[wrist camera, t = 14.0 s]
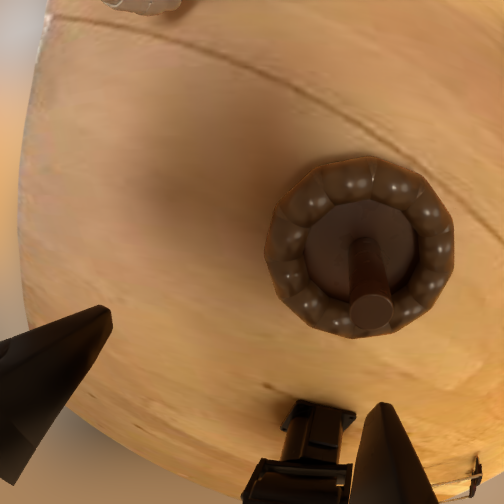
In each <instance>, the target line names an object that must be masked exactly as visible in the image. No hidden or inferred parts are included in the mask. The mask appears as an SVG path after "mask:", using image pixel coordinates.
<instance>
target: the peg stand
mask: <svg viewBox="0 0 504 504" xmlns="http://www.w3.org/2000/svg"><path fill="white" fill-rule="evenodd" d="M303 256H304V260H305V264H306V267H307V271H308V275H309V278H310V279H311V280H312V281H313V282H314V283H315V284H316V285H317V286H318V287H319V288H320V289H321V290H322V291H323V292H324V293H325V294H326V295H327V296H328V297H331V298H334V299H337V300H340V301H344V302H347V303H349V315H350V319H351V321H352V322H353V323H354V325H356V326H357V327H359V328H361V329H364V330H375V329H379V328H381V327H383V326H385V325H386V324H387V323H388V322H389V321H390V319H391V318H392V315H393V311H394V309H393V303H392V298H391V295H393V294H394V293H396V292H397V291H399V290H400V289H401V288H403V287H404V286H406V285H407V284H408V282H409V280H410V278H411V276H412V274H413V272H414V270H415V268H416V266H417V264H418V262H419V260H420V256H419V242H418V233H417V232H416V230H415V229H414V228H413V226H412V225H411V224H410V222H409V221H408V220H407V218H406V217H405V216H404V215H403V213H402V212H401V211H400V210H398V209H395V208H392V207H389V206H387V205H384V204H381V203H379V202H376V201H373V200H370V199H369V200H363V201H358V202H353V203H348V204H342V205H337V206H335V207H334V208H332V209H331V210H330V211H329V212H328V213H327V214H326V215H324V216H323V217H322V218H321V219H320V220H319V221H317V222H316V223H315V224H314V225H313V226H312V227H311V229H310V232H309V235H308V239H307V242H306V245H305V248H304V251H303Z"/></svg>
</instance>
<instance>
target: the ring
mask: <svg viewBox="0 0 504 504" xmlns="http://www.w3.org/2000/svg"><path fill="white" fill-rule="evenodd" d="M369 199H370V200H373V201H376V202H379V203H381V204H384V205H387V206H389V207H392V208H395V209H398V210H400V211H401V212H402V213H403V215H404V216H405V217H406V218H407V220H408V221H409V222H410V224H411V225H412V226H413V228H414V229H415V230H416V232H417V233H418V242H419V256H420V260H419V262H418V264H417V266H416V268H415V270H414V272H413V274H412V276H411V278H410V280H409V282H408V284H407V285H406V286H404V287H403V288H401V289H400V290H399V291H397V292H396V293H394V294H393V295H391V298H392V303H393V309H394V311H393V315H392V318H391V319H390V321H389V322H388V323H387V324H386V325H385V326H383V327H381V328H379V329H375V330H364V329H361V328H359V327H357V326H356V325H354V323H353V322H352V321H351V319H350V315H349V303H347V302H344V301H340V300H337V299H334V298H331V297H328V296H327V295H326V294H325V293H324V292H323V291H322V290H321V289H320V288H319V287H318V286H317V285H316V284H315V283H314V282H313V281H312V280H311V279H310V278H309V275H308V271H307V267H306V264H305V260H304V256H303V251H304V248H305V245H306V242H307V239H308V235H309V232H310V229H311V227H312V226H313V225H314V224H315V223H316V222H317V221H319V220H320V219H321V218H322V217H323V216H324V215H326V214H327V213H328V212H329V211H330V210H331V209H332V208H334V207H335V206H337V205H342V204H348V203H353V202H358V201H363V200H369ZM264 257H265V260H266V263H267V266H268V269H269V273H270V276H271V279H272V282H273V285H274V288H275V291H276V294H277V296H278V298H279V299H280V300H281V301H282V302H283V303H284V304H285V305H286V306H287V307H289V308H290V309H291V310H292V311H293V312H294V313H295V314H296V315H297V316H298V317H299V318H301V319H302V320H303V321H304V322H305V323H306V324H307V325H308V326H310V327H312V328H315V329H318V330H321V331H324V332H328V333H331V334H335V335H338V336H342V337H345V338H349V339H358V338H365V337H372V336H379V335H386V334H392V333H395V332H397V331H399V330H400V329H402V328H403V327H405V326H407V325H408V324H410V323H411V322H413V321H414V320H416V319H417V318H419V317H420V316H422V315H423V314H425V313H426V312H428V311H429V310H430V309H431V308H432V307H433V305H434V304H435V302H436V300H437V299H438V297H439V295H440V294H441V292H442V290H443V288H444V287H445V285H446V283H447V281H448V279H449V278H450V276H451V274H452V272H453V269H454V225H453V220H452V217H451V215H450V214H449V212H448V211H447V209H446V208H445V206H444V205H443V203H442V202H441V200H440V199H439V197H438V196H437V194H436V193H435V191H434V190H433V189H432V187H431V186H430V184H429V183H428V182H427V180H426V179H425V178H424V177H423V176H421V175H420V174H418V173H415V172H413V171H410V170H408V169H405V168H403V167H400V166H398V165H395V164H393V163H390V162H387V161H385V160H382V159H379V158H377V157H372V156H366V157H360V158H355V159H350V160H345V161H341V162H336V163H331V164H326V165H322V166H318V167H316V168H314V169H313V170H312V171H310V172H309V173H308V174H307V175H306V176H305V177H304V178H303V179H302V180H301V181H300V182H299V183H298V184H297V185H296V186H295V187H293V188H292V189H291V190H290V191H289V192H288V193H287V194H286V195H285V196H284V197H283V198H282V199H281V200H280V201H279V202H278V203H277V205H276V207H275V209H274V213H273V217H272V221H271V225H270V229H269V233H268V236H267V240H266V244H265V249H264Z"/></svg>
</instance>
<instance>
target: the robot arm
mask: <svg viewBox="0 0 504 504" xmlns="http://www.w3.org/2000/svg"><path fill="white" fill-rule="evenodd" d="M112 329H113V323H112V316H111V311H110V309H108V308H107V307H105V306H103V305H97V306H94V307H91V308H89V309H86V310H83V311H81V312H78V313H75V314H73V315H70V316H67V317H65V318H62V319H59V320H57V321H54V322H51V323H49V324H46V325H43V326H41V327H38V328H35V329H33V330H30V331H27V332H25V333H22V334H19V335H17V336H14V337H12V338H9V339H6V340H4V341H1V342H0V478H2V479H3V480H5V481H6V482H8V483H9V484H11V485H13V486H14V484H15V483H16V481H17V480H18V478H19V476H20V475H21V473H22V471H23V470H24V468H25V466H26V465H27V463H28V461H29V460H30V458H31V457H32V455H33V453H34V452H35V450H36V448H37V447H38V445H39V444H40V442H41V440H42V439H43V437H44V436H45V434H46V433H47V431H48V429H49V428H50V427H51V425H52V423H53V422H54V420H55V419H56V417H57V416H58V414H59V413H60V411H61V410H62V409H63V407H64V406H65V404H66V403H67V401H68V400H69V398H70V397H71V395H72V394H73V392H74V391H75V390H76V388H77V387H78V385H79V384H80V383H81V381H82V380H83V378H84V377H85V375H86V374H87V373H88V371H89V370H90V368H91V367H92V365H93V364H94V362H95V360H96V359H97V357H98V355H99V353H100V351H101V350H102V348H103V346H104V344H105V343H106V341H107V339H108V338H109V336H110V334H111V332H112ZM355 419H356V413H353V412H349V411H344V410H340V409H335V408H331V407H327V406H323V405H319V404H315V403H311V402H307V401H303V400H297V401H296V402H295V404H294V405H293V407H292V409H291V410H290V412H289V413H288V415H287V417H286V418H285V420H284V421H283V423H282V424H281V426H280V430H282V431H285V432H287V434H286V438H285V442H284V446H283V450H282V454H281V457H280V461H276V460H268V459H266V458H261V460H260V462H259V464H257V466H256V468H255V470H254V472H253V474H252V476H251V478H250V480H249V482H248V484H247V486H246V488H245V490H244V491H243V492H242V494H241V499H242V501H243V504H348V502H349V504H439V502H438V500H437V498H436V495H435V493H434V491H433V489H432V487H431V484H430V482H429V480H428V478H427V475H426V473H425V471H424V469H423V467H422V465H421V463H420V460H419V458H418V456H417V454H416V452H415V450H414V448H413V446H412V444H411V442H410V439H409V437H408V435H407V433H406V431H405V429H404V427H403V425H402V423H401V421H400V419H399V417H398V415H397V413H396V411H395V409H394V407H393V406H392V405H391V404H389V403H384V402H380V403H378V404H377V405H376V406H375V407H374V408H373V409H372V410H371V412H370V413H369V414H368V415H367V417H366V419H365V423H364V427H363V432H362V436H361V441H360V445H359V449H358V453H357V457H356V462H355V469H354V475H353V482H352V488H351V494H350V486H351V478H352V468H353V463H351V464H339V458H340V451H341V442H342V434H343V432H344V431H345V430H346V429H347V428H348V427H349V425H350V424H351V423H352V422H353V421H354V420H355ZM336 484H344V486H336ZM349 495H350V499H349Z"/></svg>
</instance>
